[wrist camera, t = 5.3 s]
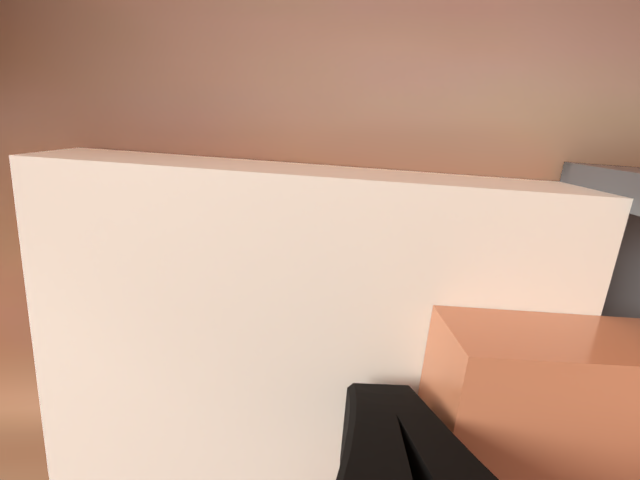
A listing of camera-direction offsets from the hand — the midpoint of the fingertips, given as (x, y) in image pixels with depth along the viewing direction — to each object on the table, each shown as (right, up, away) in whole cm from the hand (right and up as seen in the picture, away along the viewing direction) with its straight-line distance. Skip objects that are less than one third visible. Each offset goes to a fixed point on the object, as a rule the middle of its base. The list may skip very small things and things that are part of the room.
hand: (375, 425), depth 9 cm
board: (-1, +1, +3) cm, 3 cm away
